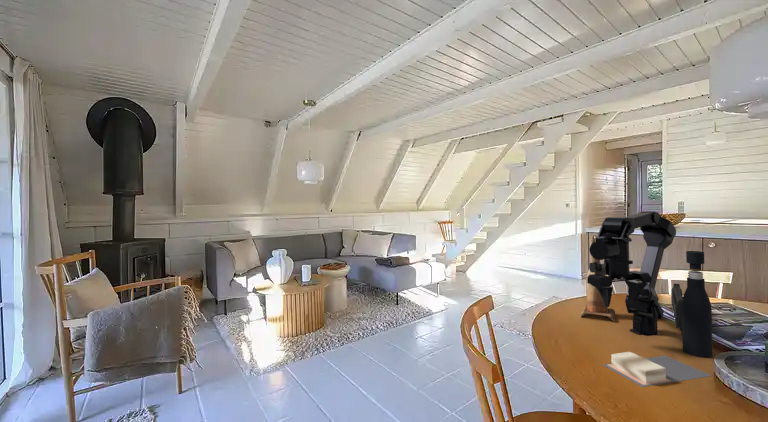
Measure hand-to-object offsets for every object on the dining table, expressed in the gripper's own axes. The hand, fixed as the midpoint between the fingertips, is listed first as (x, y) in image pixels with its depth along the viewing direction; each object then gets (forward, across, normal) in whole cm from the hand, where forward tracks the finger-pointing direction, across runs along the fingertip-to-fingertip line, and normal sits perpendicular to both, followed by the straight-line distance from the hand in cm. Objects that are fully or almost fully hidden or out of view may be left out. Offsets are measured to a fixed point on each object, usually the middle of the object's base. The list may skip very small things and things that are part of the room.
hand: (619, 305), depth 110 cm
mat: (+12, +8, +18) cm, 23 cm away
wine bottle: (+12, -13, +13) cm, 22 cm away
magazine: (+12, -37, -11) cm, 41 cm away
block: (+11, +13, +18) cm, 25 cm away
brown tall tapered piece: (+12, -13, -23) cm, 29 cm away
